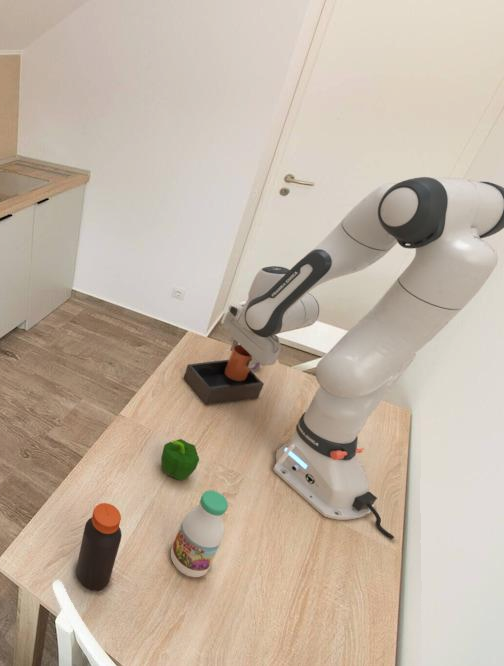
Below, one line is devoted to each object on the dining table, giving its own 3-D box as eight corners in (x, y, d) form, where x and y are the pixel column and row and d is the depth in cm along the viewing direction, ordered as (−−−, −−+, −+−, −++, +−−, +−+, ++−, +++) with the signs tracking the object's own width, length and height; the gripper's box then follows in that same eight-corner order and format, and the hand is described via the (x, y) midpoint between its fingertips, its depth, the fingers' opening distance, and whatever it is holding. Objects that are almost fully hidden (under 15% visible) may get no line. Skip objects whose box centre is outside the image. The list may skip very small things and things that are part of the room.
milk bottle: (178, 536, 103) (202, 476, 92) (213, 558, 99) (243, 497, 88) (163, 562, 98) (187, 501, 87) (200, 586, 94) (229, 526, 83)
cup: (250, 379, 142) (260, 355, 137) (232, 382, 141) (241, 358, 136) (238, 367, 147) (247, 343, 142) (220, 369, 146) (229, 345, 141)
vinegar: (69, 566, 97) (80, 505, 86) (97, 554, 99) (112, 493, 88) (87, 597, 92) (101, 537, 81) (116, 584, 94) (134, 523, 83)
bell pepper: (197, 470, 119) (208, 442, 113) (185, 490, 113) (195, 462, 108) (166, 453, 123) (174, 425, 117) (152, 472, 118) (161, 444, 112)
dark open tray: (258, 397, 142) (264, 383, 139) (205, 405, 139) (210, 390, 136) (232, 372, 152) (238, 358, 149) (183, 378, 149) (187, 364, 146)
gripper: (292, 339, 125) (273, 379, 133) (244, 300, 141) (230, 338, 149) (271, 341, 124) (254, 382, 132) (225, 302, 140) (212, 340, 148)
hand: (241, 358), depth 141 cm, fingers closed on cup, 6 cm apart
